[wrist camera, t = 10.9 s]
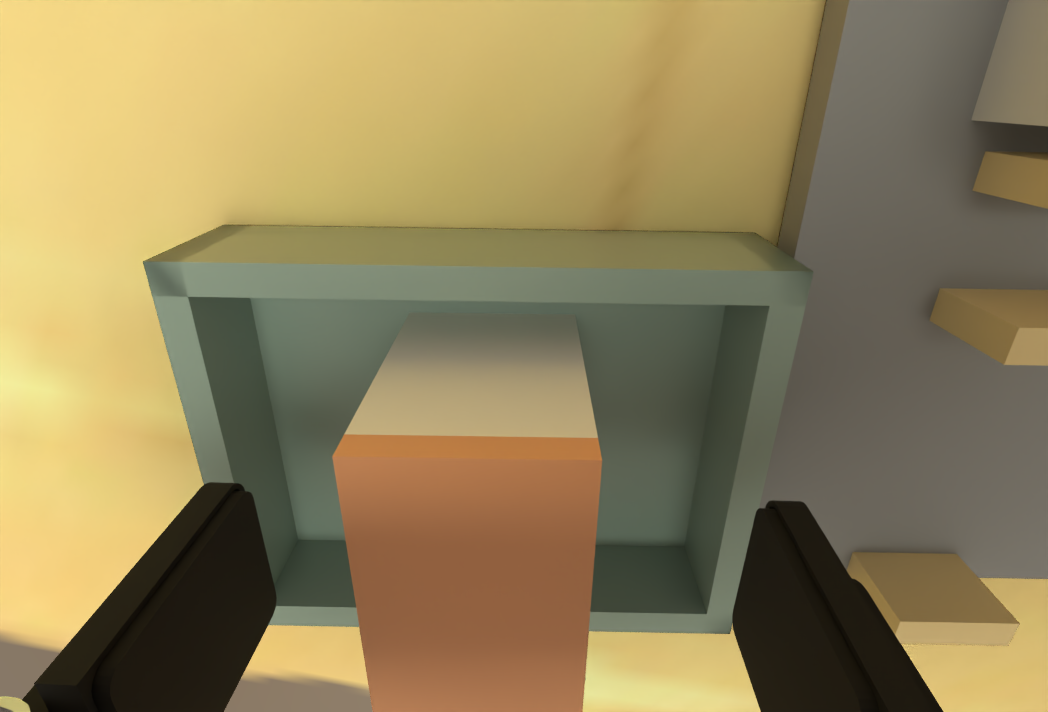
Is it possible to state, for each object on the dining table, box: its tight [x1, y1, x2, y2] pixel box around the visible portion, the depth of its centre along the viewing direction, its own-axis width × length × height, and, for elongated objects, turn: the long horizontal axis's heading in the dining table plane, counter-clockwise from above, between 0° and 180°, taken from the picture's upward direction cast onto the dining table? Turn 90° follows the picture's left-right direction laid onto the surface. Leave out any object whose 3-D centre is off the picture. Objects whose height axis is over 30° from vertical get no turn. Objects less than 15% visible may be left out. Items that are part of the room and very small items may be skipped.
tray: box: [143, 225, 814, 634], centre depth 15 cm, size 13×10×3 cm
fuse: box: [332, 313, 602, 712], centre depth 13 cm, size 4×6×6 cm, turn 179°
